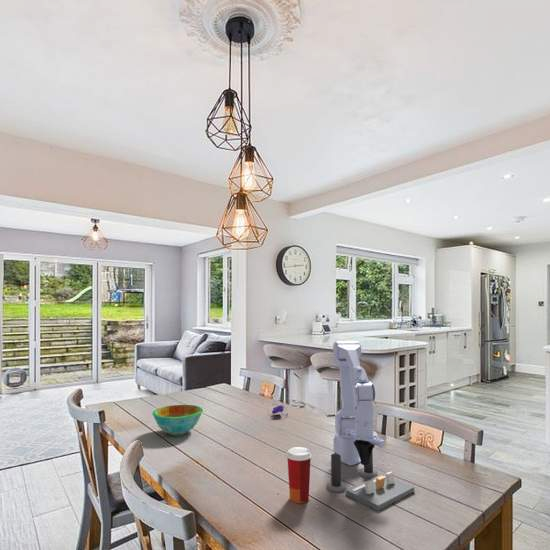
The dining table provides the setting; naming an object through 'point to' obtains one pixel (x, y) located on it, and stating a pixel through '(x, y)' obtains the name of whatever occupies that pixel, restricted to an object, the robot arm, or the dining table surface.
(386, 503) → the breaker panel
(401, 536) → the dining table surface
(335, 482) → the rubber post
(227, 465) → the dining table surface
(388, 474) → the block
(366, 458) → the robot arm
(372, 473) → the rubber post
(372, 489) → the block
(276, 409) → the game controller
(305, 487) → the paper cup
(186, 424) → the bowl
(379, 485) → the block
